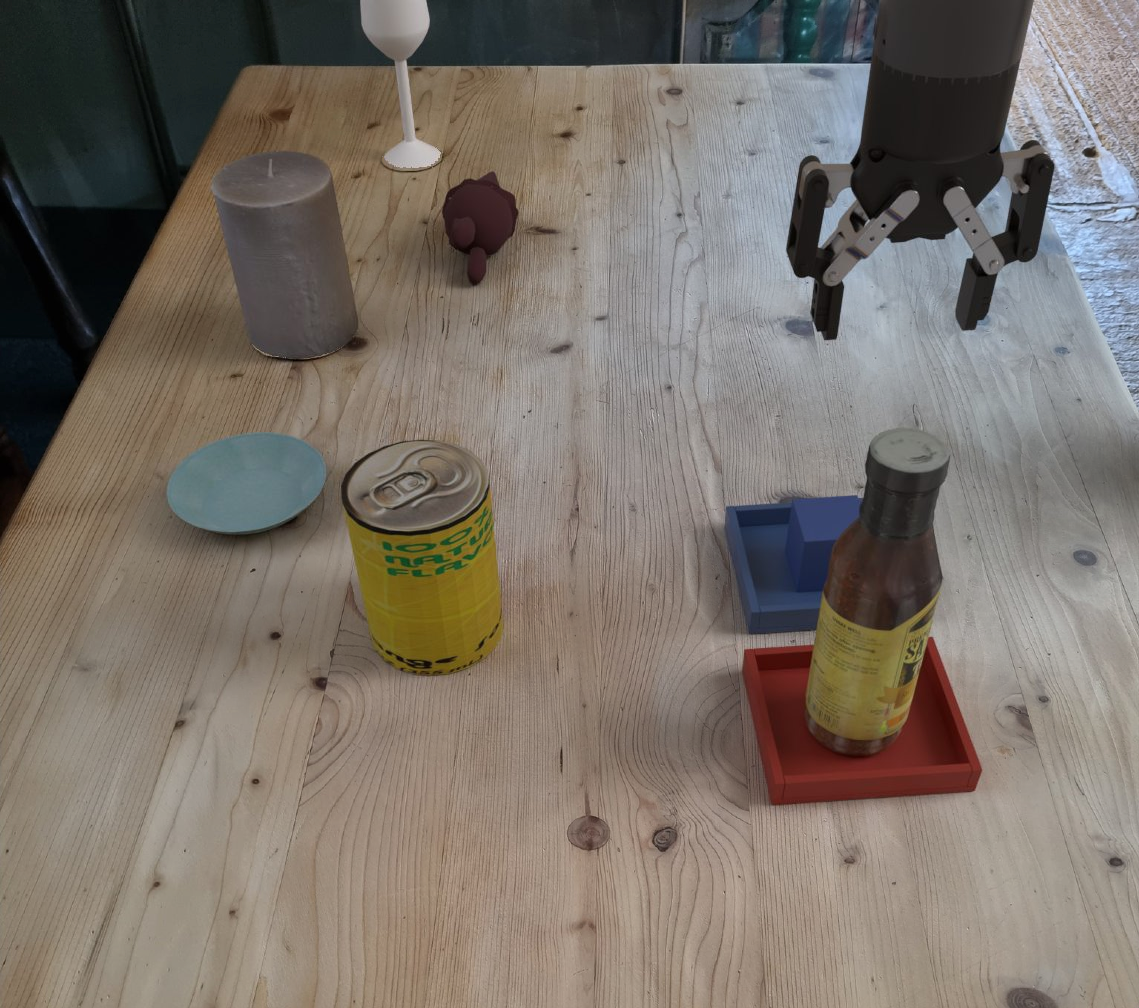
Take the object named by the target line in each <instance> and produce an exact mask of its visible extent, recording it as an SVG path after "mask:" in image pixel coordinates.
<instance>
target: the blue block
mask: <svg viewBox="0 0 1139 1008" xmlns="http://www.w3.org/2000/svg"><path fill="white" fill-rule="evenodd" d="M859 498H860V497H859V495H858V494H852V495H835V496H822V497H806V498H793V499H791V502H792V504H791V511H790V519H789V526H788V533H787V540H786V547H785V551H786V555H787V559H788V562H789V566H790V569H791V573H792V576H793V580H794V584H795V587H796V591H797V592H811V591H823V588H824V585H825V582H826V580H827V577H828V570H829V561H830V556H831V552H832V549H833V547H834V544H835V542H836V541H837V539H838V538H839V536H840V535H841V534H842V533H843V531H844V530H845V529H846V528H847V527H848V526H849V525H850V524H852V523H853V521H855V520H856V519H857V518H859V517H860V516H859V506H860V501H859Z"/></svg>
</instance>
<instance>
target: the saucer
mask: <svg viewBox="0 0 1139 1008" xmlns="http://www.w3.org/2000/svg"><path fill="white" fill-rule="evenodd" d="M326 480H327V465H326V462H325V459H324V457H323V456H322V454H321V453H320V451H318V449H316V448H315V447H314V446H312V445H311V444H310V443H309V442H307V441H305V440H303V439H301V438H298V437H296V436H292V435H289V434H285V433H278V432H267V431H259V432H248V433H241V434H236V435H232V436H227V437H224V438H220V439H218V440H215V441H212V442H210V443H208V444H206V445H204V446H202V447H199V448H198V449H196V450H195V451H193V452H192V453H190V454H189V455H188V456H187V457H185V458H184V459H183V460H182V461H181V462H180V463H179V464H178V465H177V466H176V468H175V469H174V470H173V471H172V473H171V475H170V477H169V479H168V483H167V487H166V499H167V503H168V505H169V508H170V509H171V510H172V512H173V513H174V514H175V515H176V516H177V517H178V518H179V519H181V520H182V521H184V522H186V523H187V524H189V525H191V526H194V527H195V528H199V529H201V530H204V531H208V532H212V533H216V534H217V533H218V534H223V535H233V536H234V535H235V536H237V535H238V536H240V535H253V534H257V533H258V534H259V533H262V532H266V531H269V530H270V531H271V530H273V529H275V528H278V527H280V526H282V525H284V524H286V523H288V522H289V521H291V520H293V519H294V518H296V517H297V516H298V515H300V514H301V513H302V512H304V511H305V510H306V509H307V508H308V507H309V506H311V504H313V502H314V501H316V499H317V497H318V496H319V495H320V494H321V492H322V490H323V488H324V486H325V483H326Z"/></svg>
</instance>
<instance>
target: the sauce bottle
mask: <svg viewBox="0 0 1139 1008" xmlns="http://www.w3.org/2000/svg"><path fill="white" fill-rule="evenodd" d="M950 460H951V450H950V448H949V446H948V444H947V443H945V442H944V441H943V440H942V439H941V438H940V437H938V436H936V435H934V434H932V433H931V432H928V431H925V430H923V429H920V428H913V427H900V428H899V427H896V428H891V429H887V430H884V431H882V432H879V433H878V434H877V435H875V436H874V437H873V438H872V439H871V441H870V443H869V445H868V449H867V452H866V459H865V463H864V473H865V476H866V481H865V485H864V492H863V497H862V498H863V501H862V502H861V504H860V506H859V516H860V517H859V518H857V519H856V520H855V521H853V523H852V524H850V525H849V526H848V527H847V528H846V529H845V530H844V531H843V533H842V534H841V535H840V536H839V538H838V539H837V541H836V542H835V544H834V547H833V549H832V552H831V556H830V561H829V570H828V577H827V580H826V582H825V585H824V588H823V593H822V599H821V605H820V611H819V617H818V623H817V629H816V630H815V634H814V635H815V636H814V642H813V645H814V647H813V653H812V660H811V666H810V672H809V679H808V685H807V690H806V709H805V720H806V724H807V727H808V729H809V731H810V732H811V733H812V734H813V736H814V737H815V739H816V740H817V741H818V742H819V743H821V744H822V745H823V746H825V747H827V748H829V749H830V750H832V751H833V752H837V753H841V754H844V755H854V756H869V755H874V754H876V753H879V752H881V751H883V750H885V749H887V748H888V747H889V746H890V745H891V744H892V743H894V741H895V740H896V738H897V737H898V735H899V733H900V732H901V731H902V726H903V724H904V723H905V722H906V720H907V717H908V714H909V710H910V706H911V702H912V698H913V695H914V691H915V687H916V683H917V679H918V675H919V671H920V667H921V664H922V661H923V656H924V653H925V648H926V645H927V642H928V638H929V637H930V632H931V629H932V625H933V622H934V616H935V612H936V609H937V606H938V605H937V604H938V601H939V597H940V593H941V589H942V585H943V580H944V577H943V572H942V567H941V562H940V557H939V551H938V545H937V540H936V535H935V527H934V520H935V510H936V506H937V501H938V498H939V496H940V489H941V486H942V485H943V484H944V483H945V482H946V479H947V476H948V470H949V465H950Z"/></svg>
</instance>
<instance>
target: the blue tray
mask: <svg viewBox="0 0 1139 1008" xmlns="http://www.w3.org/2000/svg"><path fill="white" fill-rule="evenodd" d="M858 498H859V501H860V504H861V502H862V501H863V497H858ZM791 504H792V501H791V502H774V503H760V504H759V503H758V504H745V505H744V504H743V505H742V504H741V505H726V506H725V516H724V527H723V528H724V532H725V533H724V534H725V537H726V541H727V546H728V550H729V554H730V559H731V563H732V567H733V571H734V576H735V580H736V585H737V589H738V593H739V598H740V602H741V606H742V610H743V615H744V619H745V623H746V627H747V632H748V635H759V634H773V633H788V632H789V633H791V632H803V631H804V632H805V631H816V629H817V623H818V617H819V611H820V605H821V599H822V593H823V591H811V592H797V591H796V587H795V584H794V580H793V576H792V573H791V569H790V566H789V562H788V559H787V555H786V551H785V547H786V540H787V533H788V526H789V519H790V511H791Z"/></svg>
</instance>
